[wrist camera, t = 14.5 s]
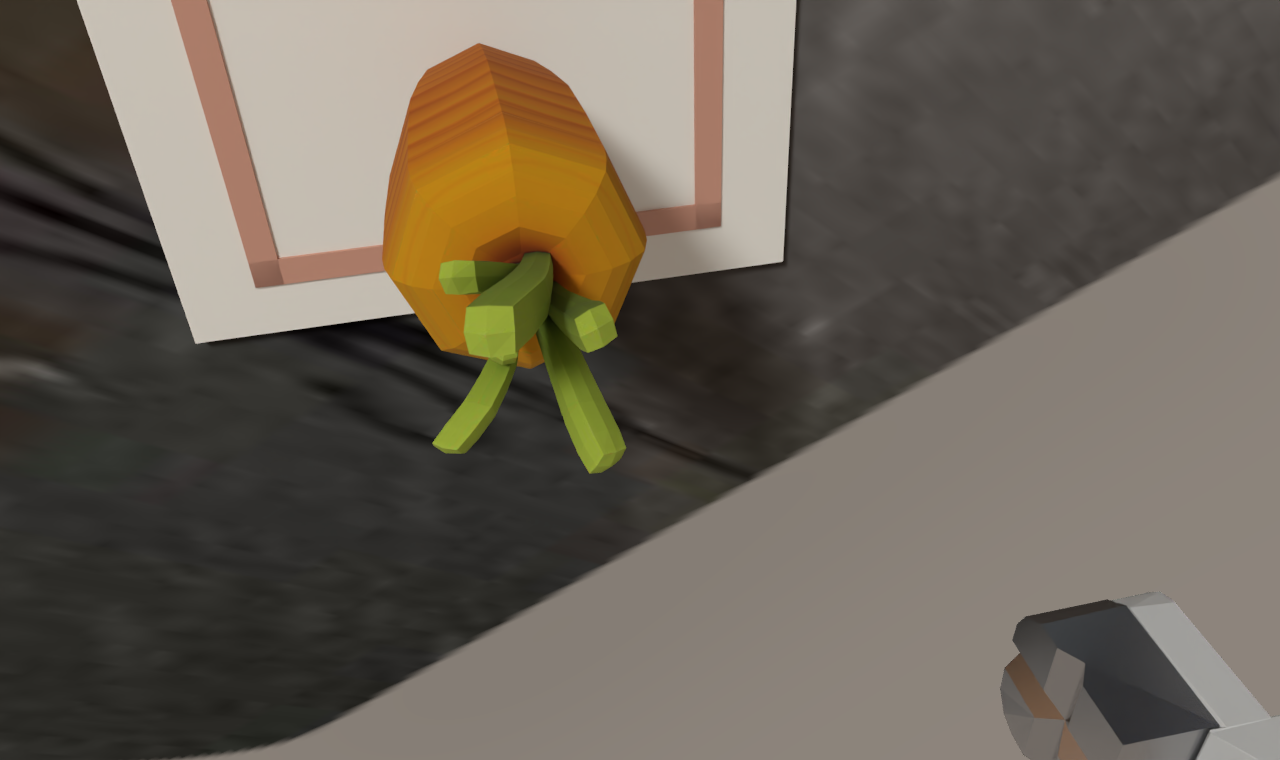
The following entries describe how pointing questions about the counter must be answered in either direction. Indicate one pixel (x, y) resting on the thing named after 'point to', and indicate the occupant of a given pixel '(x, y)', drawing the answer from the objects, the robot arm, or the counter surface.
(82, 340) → the counter surface
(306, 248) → the print card
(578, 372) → the carrot
